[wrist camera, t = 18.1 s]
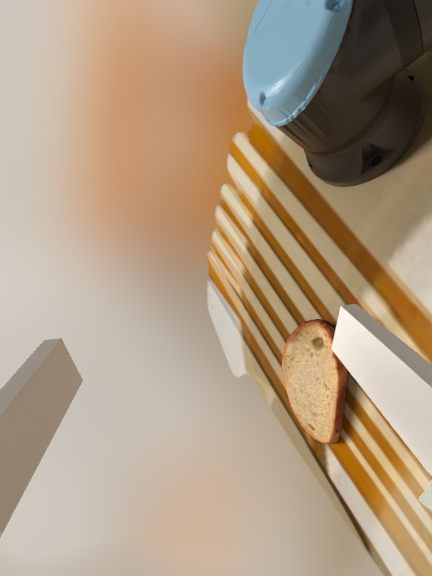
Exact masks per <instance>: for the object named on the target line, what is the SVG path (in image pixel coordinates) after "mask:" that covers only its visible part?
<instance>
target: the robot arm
mask: <svg viewBox="0 0 432 576" xmlns="http://www.w3.org/2000/svg"><path fill="white" fill-rule="evenodd" d="M431 48H432V0H259V2H258V4H257V7H256V9H255V12H254V15H253V18H252V21H251V24H250V27H249V31H248V39H247V42H246V46H245V50H244V58H243V80H244V86H245V90H246V93H247V96H248V98H249V100H250V102H251V103H252V104H253V106H254V107H255V108H256V109H257V110H258V111H259V112H261V113H262V114H263V116H264V118H265V119H266V121H267V122H269V123H270V124H271V125H273V126H275V127H277V128H278V129H279V130H280V131H282V132H283V133H284V134H285V135H287V136H288V137H289V138H290V139H292V140H293V141H294V142H295V143H297V144H298V145H299V146H301V147H302V148H303V149H304V152H305V154H306V158H307V162H308V165H309V167H310V169H311V170H312V172H313V173H314V174H315V175H316V176H317V177H318V178H319V179H321V180H322V181H324V182H325V183H327V184H330V185H333V186H339V187H347V186H354V185H358V184H361V183H364V182H367V181H369V180H371V179H373V178H375V177H377V176H379V175H380V174H382V173H383V172H385V171H386V170H387V169H389V168H390V167H391V166H392V165H394V164H395V163H396V162H397V161H398V160H399V159H400V158H401V157H402V156H403V155H404V154H405V152H406V151H407V150H408V149H409V147H410V146H411V144H412V143H413V141H414V140H415V138H416V136H417V134H418V132H419V130H420V128H421V125H422V122H423V119H424V113H425V100H424V95H423V91H422V87H421V85H420V82H419V81H418V79H417V78H416V77H415V76H414V75H413V74H412V73H411V72H410V71H408V70H406V69H405V68H406V67H407V66H409V65H410V64H411V63H413V62H414V61H415V60H416V59H418V58H419V57H420V56H422V55H423V54H424V53H426V52H427V51H428V50H430V49H431ZM331 349H332V350H333V352H334V353H335V354H336V356H337V357H338V358H339V359H340V361H341V362H342V363H343V364H344V366H345V367H346V368H347V370H348V371H349V372H350V373H351V375H352V376H353V377H354V378H355V380H356V381H357V382H358V384H359V385H360V386H361V387H362V389H363V390H364V391H365V392H366V394H367V395H368V396H369V398H370V399H371V400H372V401H373V403H374V404H375V405H376V406H377V408H378V409H379V410H380V412H381V413H382V414H383V415H384V417H385V418H386V419H387V420H388V422H389V423H390V424H391V426H392V427H393V428H394V429H395V431H396V432H397V433H398V434H399V436H400V437H401V438H402V440H403V441H404V442H405V443H406V445H407V446H408V447H409V448H410V450H411V451H412V452H413V453H414V455H415V456H416V457H417V459H418V460H419V461H420V462H421V464H422V465H423V466H424V467H425V469H426V470H427V471H428V473H429V474H430V475H431V476H432V365H431V364H430V363H429V362H427V361H426V360H425V359H424V358H423V357H421V356H420V355H419V354H418V353H416V352H415V351H414V350H413V349H411V348H410V347H409V346H408V345H406V344H405V343H404V342H403V341H401V340H400V339H399V338H398V337H396V336H395V335H394V334H393V333H391V332H390V331H389V330H388V329H387V328H385V327H384V326H383V325H382V324H380V323H379V322H378V321H377V320H375V319H374V318H373V317H372V316H370V315H369V314H368V313H367V312H365V311H364V310H363V309H362V308H360V307H359V306H358V305H357V304H352V305H344V306H341V307H340V312H339V317H338V321H337V326H336V330H335V335H334V339H333V344H332V348H331ZM81 383H82V378H81V376H80V374H79V372H78V370H77V368H76V366H75V364H74V362H73V360H72V358H71V357H70V354H69V353H68V351H67V348H66V347H65V345H64V343H63V341H62V339H53V340H44V341H43V342H42V343H41V344H40V346H39V347H38V348H37V349H36V350H35V351H34V353H33V354H32V355H31V356H30V357H29V358H28V359H27V360H26V362H25V363H24V364H23V365H22V366H21V367H20V368H19V369H18V371H17V372H16V373H15V374H14V375H13V376H12V378H11V379H10V380H9V381H8V382H7V383H6V384H5V385H4V387H3V388H2V389H1V390H0V537H1V535H2V533H3V531H4V529H5V527H6V525H7V523H8V522H9V520H10V518H11V516H12V514H13V512H14V510H15V508H16V506H17V504H18V503H19V501H20V498H21V497H22V495H23V493H24V491H25V489H26V487H27V486H28V484H29V482H30V480H31V478H32V476H33V474H34V472H35V470H36V468H37V466H38V465H39V463H40V461H41V459H42V457H43V455H44V453H45V451H46V449H47V447H48V446H49V444H50V442H51V440H52V438H53V436H54V434H55V432H56V430H57V428H58V426H59V425H60V423H61V421H62V419H63V417H64V415H65V413H66V411H67V409H68V407H69V405H70V403H71V402H72V400H73V398H74V396H75V394H76V392H77V390H78V388H79V387H80V385H81Z"/></svg>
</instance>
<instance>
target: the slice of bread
mask: <svg viewBox="0 0 432 576" xmlns="http://www.w3.org/2000/svg"><path fill="white" fill-rule="evenodd" d="M334 335H335V330H334V328H333V327H331V326H330V325H328V324H327V323H326V322H325V321H323V320H321V319H316V320H309V321H306V322H303V323H302V324H301V325H300V326H298V327H297V328H296V329H295V331H294V332H293V333H292V334H291V335H290V337H289V338H288V340H287V343H286V346H285V349H284V353H283V358H282V377H283V383H284V385H285V387H286V389H287V392H288V396H289V402H290V405H291V407H292V409H293V412H294V413H295V415H296V417H297V419H298V420H299V422H300V424H301V425H302V427H303V428H304V429H305V430H306V431H307V432H308V433H309V434H310V435H311V436H312V437H313V438H314V439H315V440H317V441H319V442H321V443H324V444H335V443H336V442H337V441H338V440H339V435H340V433H341V429H342V426H343V418H344V407H345V398H346V390H347V371H348V370H347V368H346V367H345V366H344V364H343V363H342V362H341V361H340V359H339V358H338V357H337V356H336V354H335V353H334V352H333V350H332V349H331V348H332V344H333V339H334Z"/></svg>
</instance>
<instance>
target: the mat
mask: <svg viewBox="0 0 432 576" xmlns="http://www.w3.org/2000/svg"><path fill="white" fill-rule="evenodd" d="M419 501H420V502H421V503H422V504H423V505H425V506H426V507H427V508H428V509H430V510H431V511H432V481H431V482H430V483H429V485H428V486H427V488H426V489H425V491H424V492H423V493H422V495H421V496H420V498H419Z"/></svg>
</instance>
